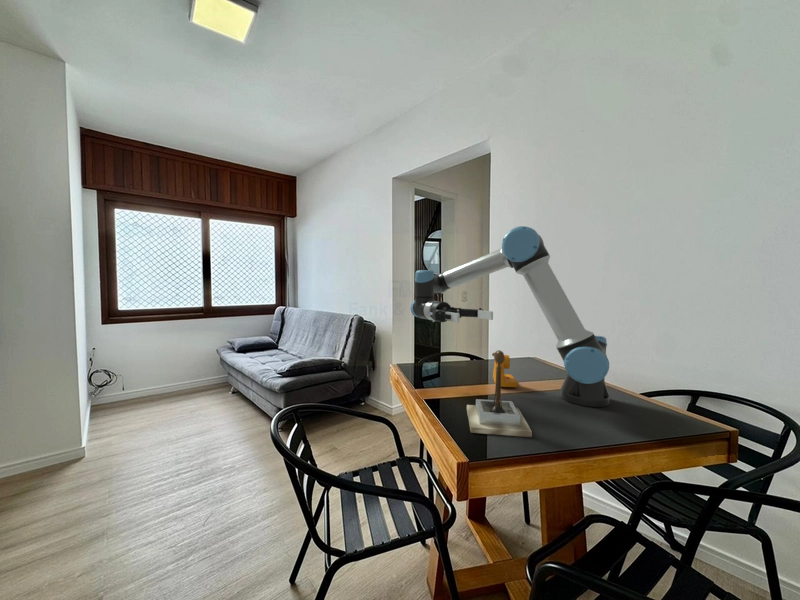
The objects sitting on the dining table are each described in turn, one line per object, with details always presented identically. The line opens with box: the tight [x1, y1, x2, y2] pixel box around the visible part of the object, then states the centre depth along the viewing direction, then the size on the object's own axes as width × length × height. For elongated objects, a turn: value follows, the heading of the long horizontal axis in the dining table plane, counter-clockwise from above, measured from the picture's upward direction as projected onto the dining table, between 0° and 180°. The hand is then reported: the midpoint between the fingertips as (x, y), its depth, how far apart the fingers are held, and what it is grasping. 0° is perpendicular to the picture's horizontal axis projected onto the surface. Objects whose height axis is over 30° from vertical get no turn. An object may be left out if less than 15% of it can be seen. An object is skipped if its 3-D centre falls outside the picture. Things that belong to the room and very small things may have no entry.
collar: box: [475, 398, 520, 427], centre depth 95 cm, size 11×11×3 cm
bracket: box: [492, 354, 518, 388], centre depth 129 cm, size 11×7×12 cm, turn 176°
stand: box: [466, 404, 533, 438], centre depth 95 cm, size 16×16×2 cm
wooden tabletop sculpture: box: [490, 350, 505, 413], centre depth 95 cm, size 6×5×20 cm
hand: (475, 316), depth 102 cm, fingers open, 13 cm apart
